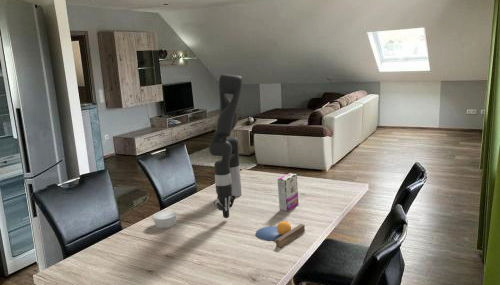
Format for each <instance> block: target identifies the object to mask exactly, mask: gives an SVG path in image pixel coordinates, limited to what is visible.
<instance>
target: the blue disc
mask: <svg viewBox="0 0 500 285" xmlns="http://www.w3.org/2000/svg"><path fill="white" fill-rule="evenodd" d="M277 226H278V225H277ZM277 226H276V225H274V226H273V225H270V226H264V227H262V228H259V229H257V230H256V232H255V236H256V237H257V238H258V239H260V240H262V241H269V242H270V241H271V242H272V241H276V239H278V238H279V237H281V236H282V235H280V234H279V233H278V231H277Z"/></svg>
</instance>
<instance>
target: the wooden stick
mask: <svg viewBox="0 0 500 285" xmlns="http://www.w3.org/2000/svg"><path fill="white" fill-rule="evenodd" d="M305 227H306V226H305V224H303V223H299V225H297V226H295V227H293V228H291V230H290V231H289V232H287V233H286V234H284V235H282V236H281V237H279V238H278V239H276V240H275V245H276V246H275V247H277V248H280V249H281V248H283V247H284V246H286V245H287V244H288V243H290V242H291V241H293V240H294V239H296V238H297V237H299V236H301V235H302V234H304V233H305V231H306V230H305Z"/></svg>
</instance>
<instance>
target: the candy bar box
mask: <svg viewBox="0 0 500 285" xmlns="http://www.w3.org/2000/svg"><path fill="white" fill-rule="evenodd" d="M298 189H299V188H298V175H297V173H291V172H289V173H287V174H285V175H283V176H281V177H279V178H277V191H278V204H279V205H278V206H279V210H280V211H282V212H289V211H290V210H292V209H293V208H296V207H297V206H299V205H300V203H299V192H298Z"/></svg>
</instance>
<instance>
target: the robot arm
mask: <svg viewBox="0 0 500 285" xmlns="http://www.w3.org/2000/svg"><path fill="white" fill-rule="evenodd" d="M243 84H244V81H243V77H242V76H241V75H237V74H235V75H234V74H229V73H222V74H221V75H220V76H219V80H218V95H219V112H218V114H219V116H218V117H217V118H218V119H217V123H216V129H215V131H214V133H213V136H212V138H211V139H210V143H209V145H208V150H209V151H208V152H209V153H210V155H212V156H215V157H216V156H217V157H219V156H220V157H221V159H220V160H217V161H215V162H214V181H215V193H216V194H217V197H216V201H214V202H213V205H214V206H215V207H216V208H217V209H218V211H220V212H221V211H222V216H223V218H224V219H228V218H230V209H231V208H232V207H233V205H234V202H235V200H236V198H238V197H240V196H242V194H243V193H242V183H241V182H242V181H241V166H240V157H239V156H240V154H239V153H240V152H239V151H240V150H239V148H240V147H239V139H238V137H236V136H231V134H232V131H233V130H234V129H235V127H236V126H237V123H238V110H237V108H238V106H239V101H240V98H241V94H242V91H243V90H242V89H243V86H244V85H243ZM229 95H232V99H231V100H230V98H229ZM230 136H231V137H230Z"/></svg>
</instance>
